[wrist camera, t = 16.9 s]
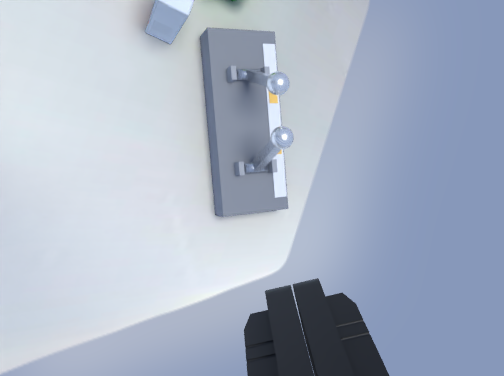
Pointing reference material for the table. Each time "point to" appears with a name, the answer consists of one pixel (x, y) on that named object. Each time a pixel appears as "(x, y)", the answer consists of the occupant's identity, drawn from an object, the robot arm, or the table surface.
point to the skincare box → (168, 18)
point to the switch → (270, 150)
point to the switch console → (241, 121)
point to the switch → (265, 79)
